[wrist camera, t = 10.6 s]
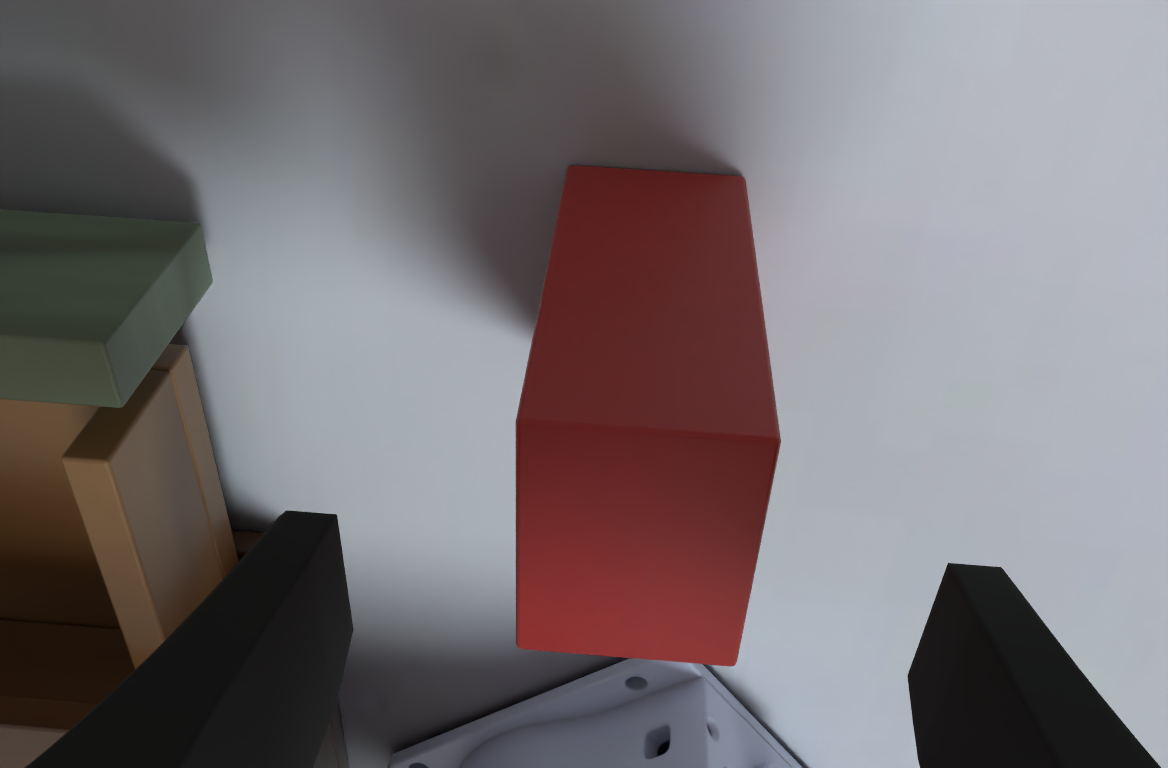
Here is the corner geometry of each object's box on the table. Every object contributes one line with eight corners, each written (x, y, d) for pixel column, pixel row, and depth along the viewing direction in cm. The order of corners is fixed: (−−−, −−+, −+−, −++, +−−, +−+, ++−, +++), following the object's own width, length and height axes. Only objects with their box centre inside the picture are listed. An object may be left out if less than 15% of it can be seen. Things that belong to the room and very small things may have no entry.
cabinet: (-202, 494, 23) (-405, 691, 19) (310, 535, 23) (224, 746, 18) (-40, 778, 30) (-160, 970, 26) (357, 813, 30) (303, 1015, 25)
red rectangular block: (567, 162, 17) (514, 421, 11) (746, 174, 17) (782, 441, 11) (561, 357, 19) (514, 650, 14) (717, 368, 19) (736, 669, 14)
